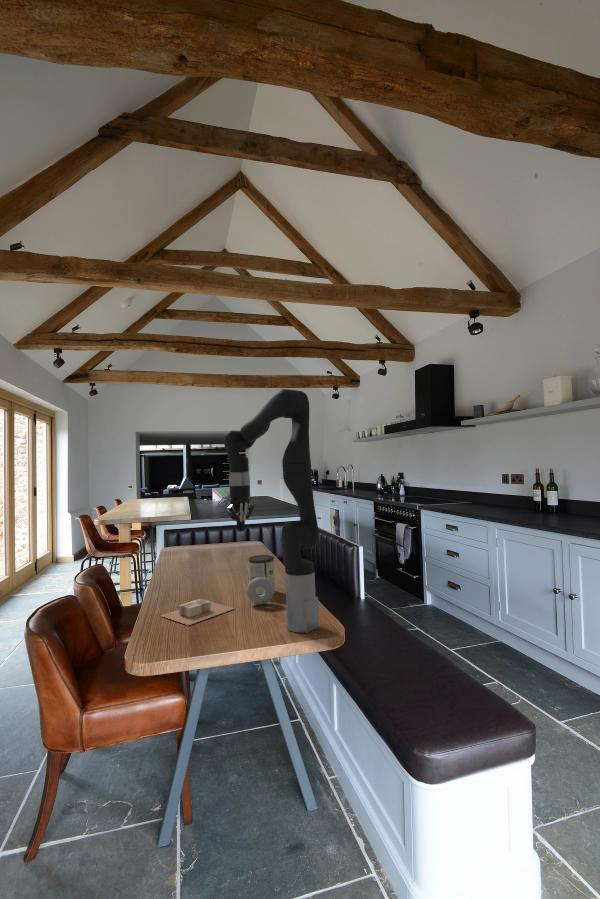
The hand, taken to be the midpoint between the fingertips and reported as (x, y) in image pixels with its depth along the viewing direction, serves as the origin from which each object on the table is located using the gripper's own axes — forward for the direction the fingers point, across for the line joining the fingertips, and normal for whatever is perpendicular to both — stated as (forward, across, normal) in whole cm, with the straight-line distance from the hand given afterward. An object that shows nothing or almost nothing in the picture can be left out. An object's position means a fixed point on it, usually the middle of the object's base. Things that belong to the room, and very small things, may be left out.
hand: (241, 531), depth 164 cm
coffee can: (+27, +15, +5) cm, 31 cm away
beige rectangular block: (+25, -12, +7) cm, 28 cm away
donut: (+27, +4, -5) cm, 28 cm away
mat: (+27, -15, +7) cm, 32 cm away
